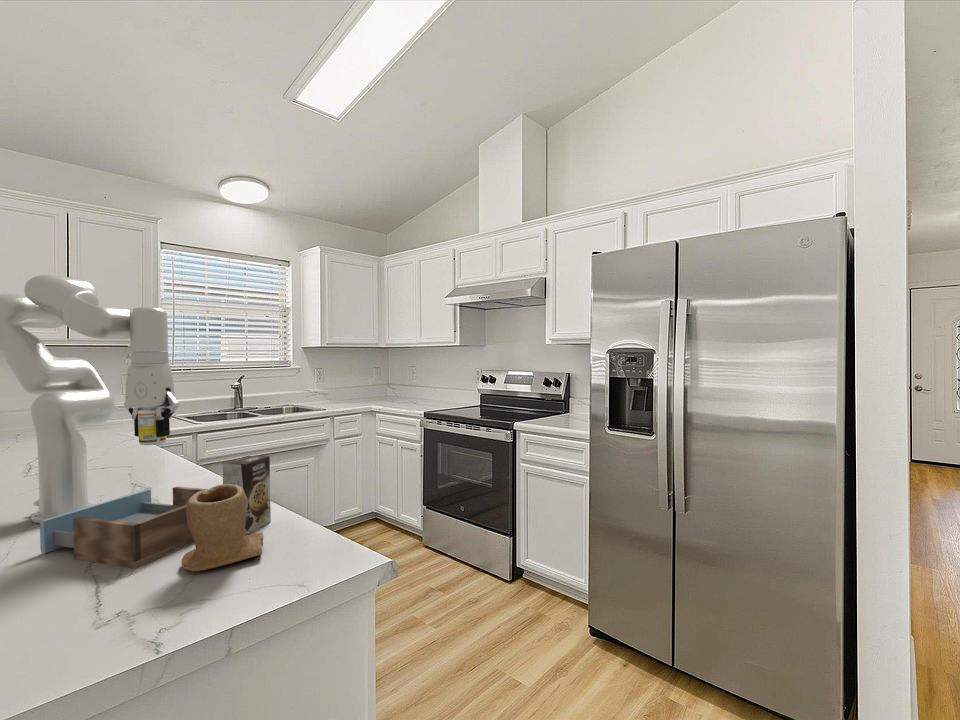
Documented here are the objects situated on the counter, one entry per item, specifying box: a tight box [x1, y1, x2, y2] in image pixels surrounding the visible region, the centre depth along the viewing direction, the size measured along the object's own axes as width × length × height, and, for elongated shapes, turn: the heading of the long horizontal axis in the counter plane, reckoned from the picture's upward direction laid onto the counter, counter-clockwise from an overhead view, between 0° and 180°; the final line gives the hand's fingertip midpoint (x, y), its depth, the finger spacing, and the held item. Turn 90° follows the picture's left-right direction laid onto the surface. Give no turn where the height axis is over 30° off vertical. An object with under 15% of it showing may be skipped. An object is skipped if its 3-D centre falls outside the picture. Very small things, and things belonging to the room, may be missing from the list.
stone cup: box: [181, 484, 264, 572], centre depth 98 cm, size 15×12×15 cm
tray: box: [39, 488, 182, 554], centre depth 112 cm, size 16×24×7 cm, turn 163°
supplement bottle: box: [138, 405, 167, 446], centre depth 120 cm, size 6×6×10 cm
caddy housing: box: [73, 486, 209, 569], centre depth 110 cm, size 16×24×8 cm, turn 163°
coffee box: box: [222, 455, 272, 536], centre depth 117 cm, size 9×6×16 cm
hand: (152, 435), depth 120 cm, fingers closed on supplement bottle, 5 cm apart
